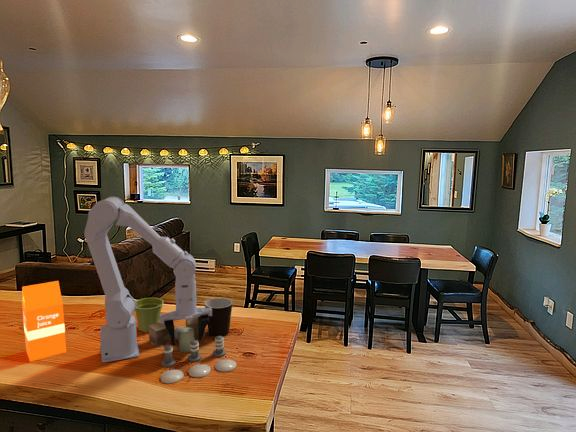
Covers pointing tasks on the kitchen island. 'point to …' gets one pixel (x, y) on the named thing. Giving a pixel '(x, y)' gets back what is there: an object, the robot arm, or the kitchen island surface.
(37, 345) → the orange juice
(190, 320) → the walnut block
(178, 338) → the grey ball
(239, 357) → the kitchen island surface
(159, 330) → the walnut block
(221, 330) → the coffee mug
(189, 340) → the pale green rounded cylinder
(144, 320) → the plant pot
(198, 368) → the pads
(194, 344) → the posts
